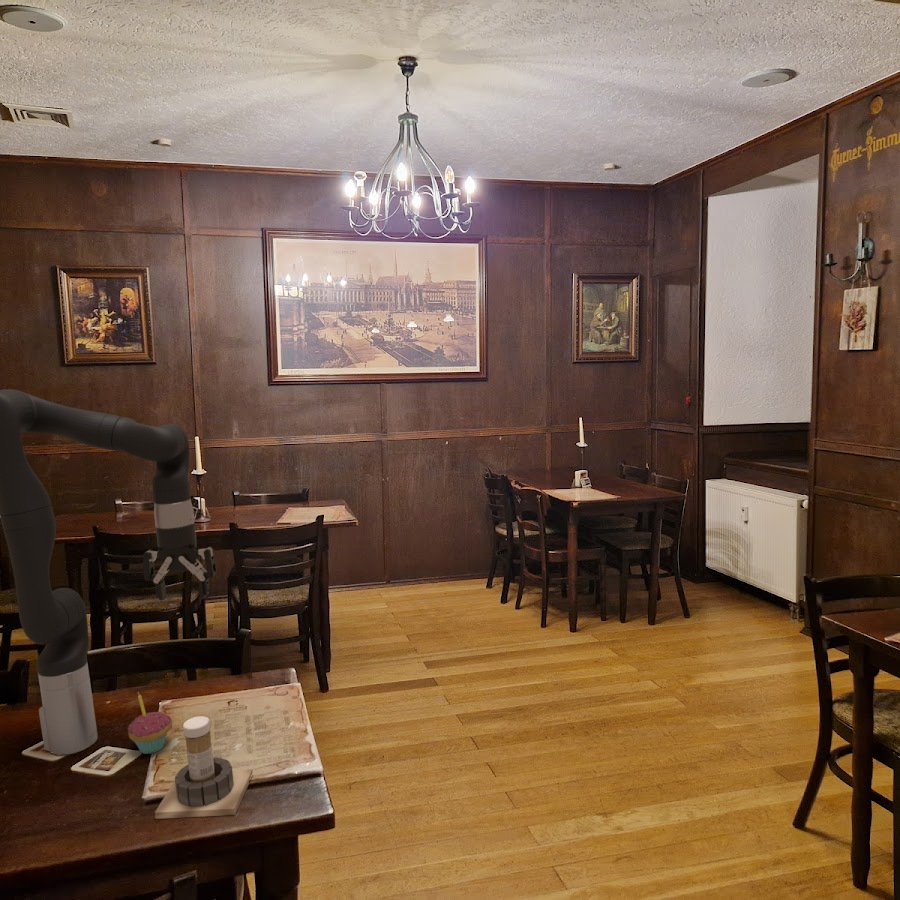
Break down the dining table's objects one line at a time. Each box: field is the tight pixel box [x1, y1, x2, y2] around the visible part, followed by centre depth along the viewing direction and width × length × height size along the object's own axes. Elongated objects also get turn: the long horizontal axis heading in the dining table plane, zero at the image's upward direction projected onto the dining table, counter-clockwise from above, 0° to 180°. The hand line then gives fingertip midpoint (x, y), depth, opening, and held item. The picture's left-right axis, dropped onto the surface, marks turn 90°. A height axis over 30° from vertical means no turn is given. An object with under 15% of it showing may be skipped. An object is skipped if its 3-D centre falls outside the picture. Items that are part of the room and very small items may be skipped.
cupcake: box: [127, 691, 174, 755], centre depth 155 cm, size 9×8×12 cm
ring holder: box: [154, 756, 254, 820], centre depth 138 cm, size 14×12×5 cm
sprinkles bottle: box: [182, 715, 215, 783], centre depth 137 cm, size 5×5×14 cm
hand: (183, 598), depth 156 cm, fingers open, 8 cm apart
